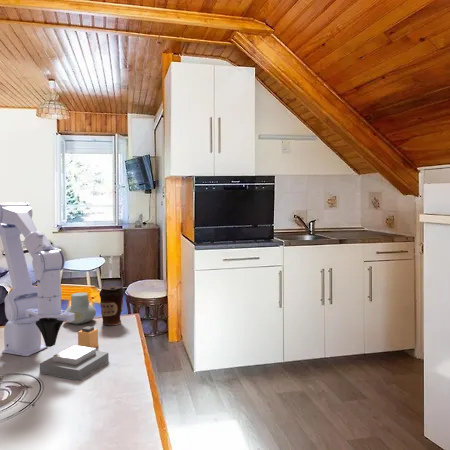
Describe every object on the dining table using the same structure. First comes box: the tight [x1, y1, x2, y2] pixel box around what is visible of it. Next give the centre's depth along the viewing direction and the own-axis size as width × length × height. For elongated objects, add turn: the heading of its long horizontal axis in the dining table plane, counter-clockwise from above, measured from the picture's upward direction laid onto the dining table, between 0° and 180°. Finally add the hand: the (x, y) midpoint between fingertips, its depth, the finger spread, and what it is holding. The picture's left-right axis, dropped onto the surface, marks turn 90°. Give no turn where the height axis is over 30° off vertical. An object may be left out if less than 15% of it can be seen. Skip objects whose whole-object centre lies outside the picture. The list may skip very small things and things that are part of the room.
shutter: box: [52, 344, 97, 365], centre depth 105 cm, size 7×8×2 cm
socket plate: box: [39, 350, 109, 381], centre depth 105 cm, size 12×12×2 cm
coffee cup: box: [99, 285, 125, 326], centre depth 142 cm, size 9×8×13 cm
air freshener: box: [64, 292, 97, 325], centre depth 144 cm, size 11×8×10 cm
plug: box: [77, 325, 99, 348], centre depth 119 cm, size 4×4×6 cm
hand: (50, 345), depth 107 cm, fingers closed
